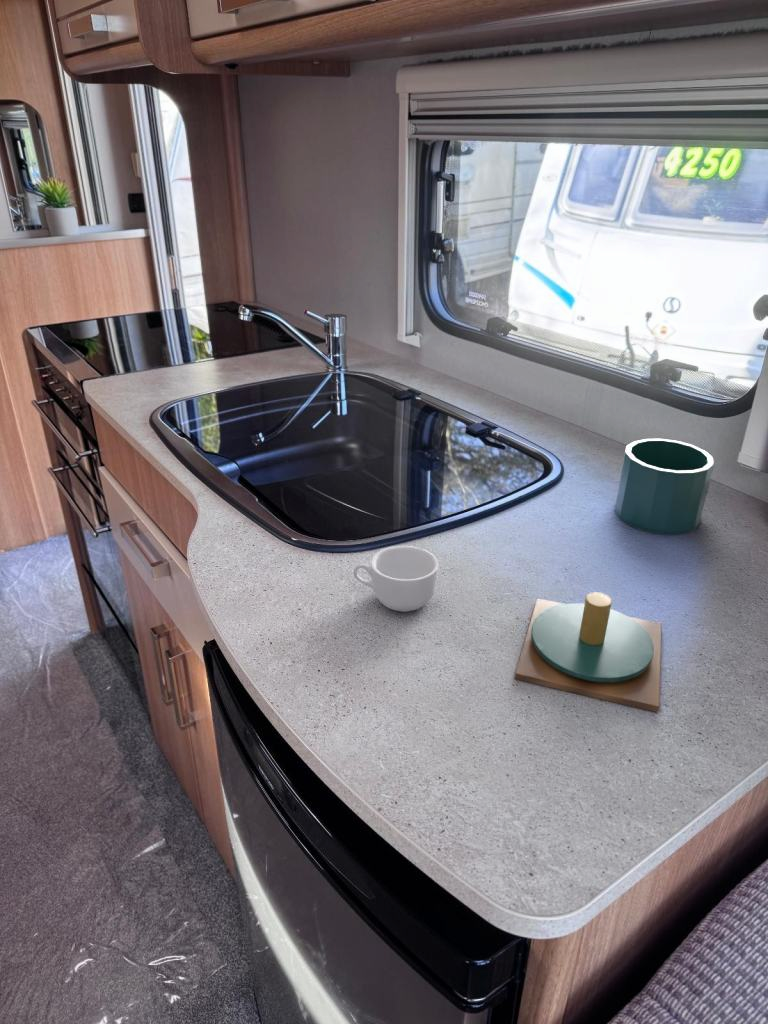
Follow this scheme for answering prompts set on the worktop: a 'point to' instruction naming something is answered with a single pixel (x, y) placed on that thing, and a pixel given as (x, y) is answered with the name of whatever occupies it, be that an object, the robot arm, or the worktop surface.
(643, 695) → the plate
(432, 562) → the teacup
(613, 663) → the tin lid
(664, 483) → the tea tin
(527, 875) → the worktop surface
